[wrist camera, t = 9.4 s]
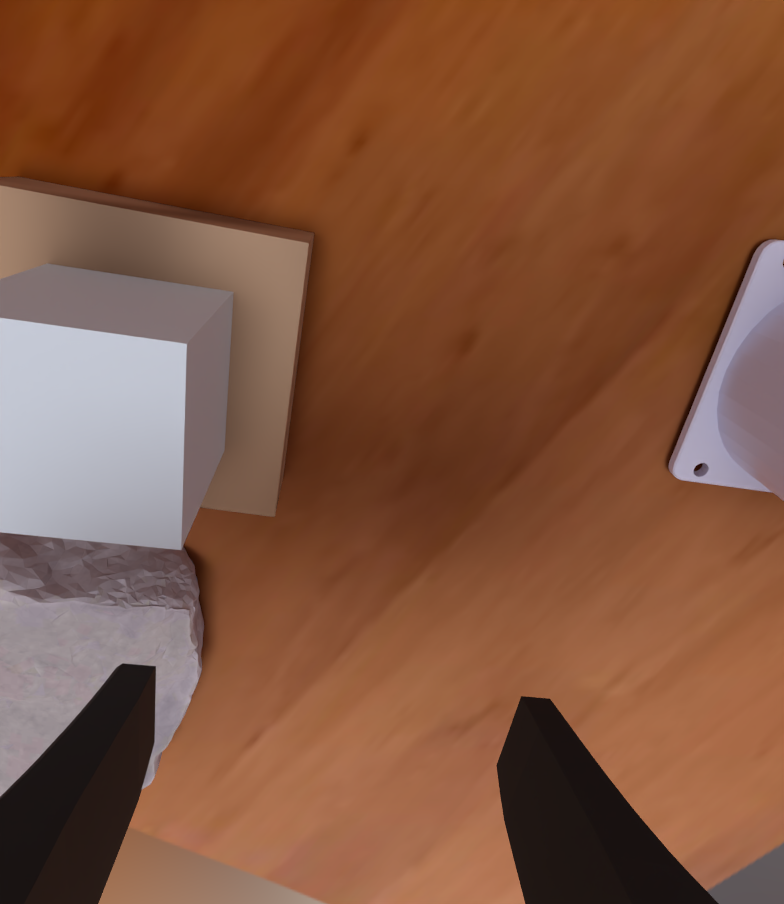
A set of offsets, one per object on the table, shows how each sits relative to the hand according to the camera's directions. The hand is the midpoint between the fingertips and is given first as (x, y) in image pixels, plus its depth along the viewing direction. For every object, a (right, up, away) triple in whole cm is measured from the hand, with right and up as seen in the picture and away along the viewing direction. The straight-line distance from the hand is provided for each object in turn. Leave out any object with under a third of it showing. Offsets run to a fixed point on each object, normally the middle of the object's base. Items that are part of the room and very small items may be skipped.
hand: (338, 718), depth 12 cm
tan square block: (-6, +9, +7) cm, 13 cm away
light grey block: (-6, +8, +4) cm, 10 cm away
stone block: (-11, -2, +12) cm, 16 cm away
